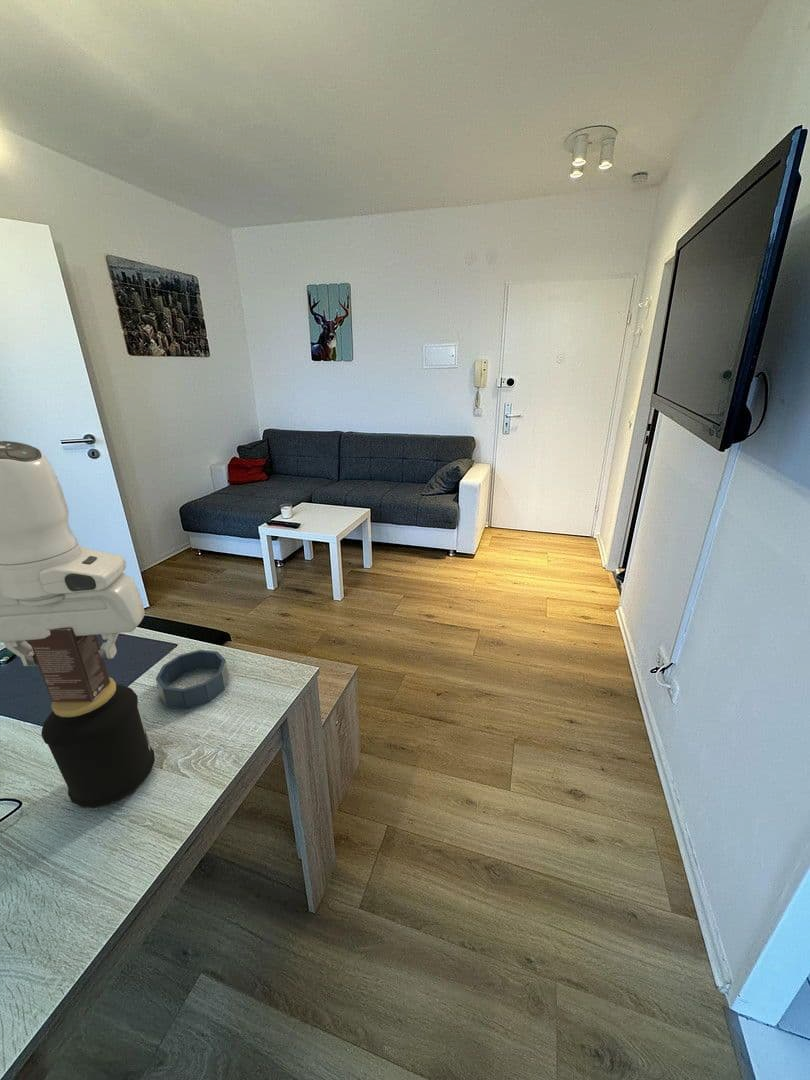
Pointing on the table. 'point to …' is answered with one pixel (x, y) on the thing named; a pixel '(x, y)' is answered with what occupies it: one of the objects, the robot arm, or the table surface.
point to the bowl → (197, 692)
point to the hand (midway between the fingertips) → (72, 659)
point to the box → (70, 665)
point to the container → (100, 746)
